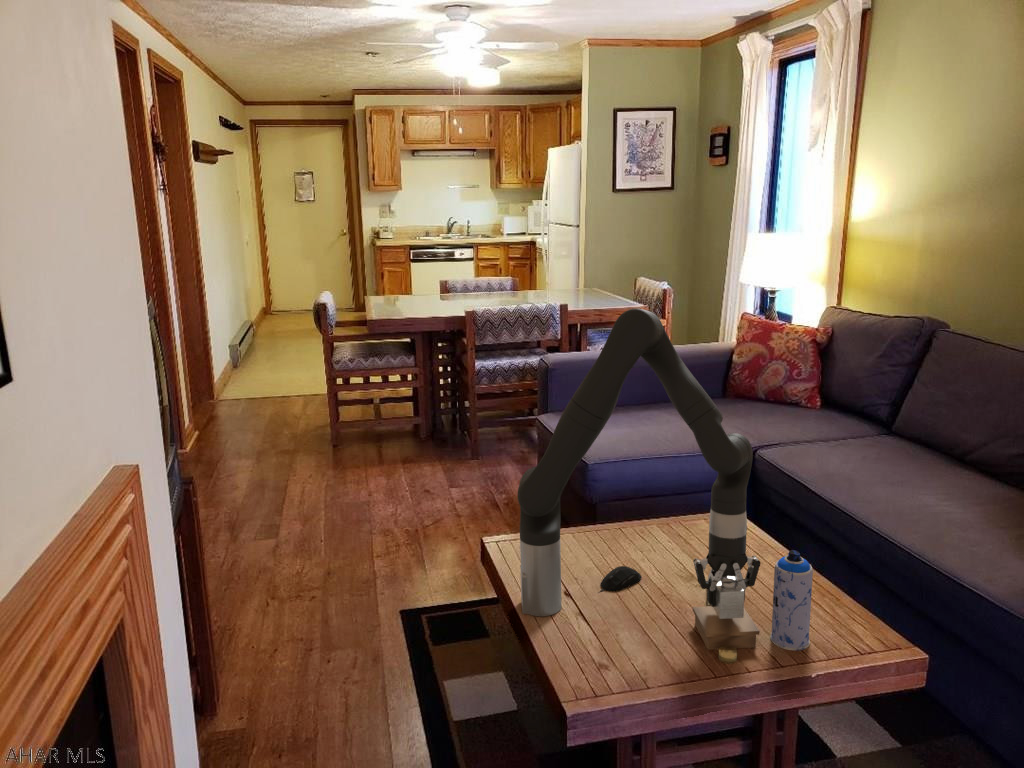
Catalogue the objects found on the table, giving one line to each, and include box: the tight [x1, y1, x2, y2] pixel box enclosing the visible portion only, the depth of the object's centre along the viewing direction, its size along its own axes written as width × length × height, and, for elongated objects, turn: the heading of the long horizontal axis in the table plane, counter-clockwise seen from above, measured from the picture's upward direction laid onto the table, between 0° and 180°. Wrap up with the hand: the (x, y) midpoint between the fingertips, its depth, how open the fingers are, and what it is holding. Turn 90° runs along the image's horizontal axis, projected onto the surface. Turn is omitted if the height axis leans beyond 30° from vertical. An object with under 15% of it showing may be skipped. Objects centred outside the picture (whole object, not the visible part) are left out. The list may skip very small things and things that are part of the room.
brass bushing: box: [717, 645, 738, 665], centre depth 158 cm, size 4×4×2 cm
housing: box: [713, 576, 745, 619], centre depth 164 cm, size 8×5×7 cm, turn 2°
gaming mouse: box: [597, 565, 642, 594], centre depth 190 cm, size 6×15×4 cm, turn 130°
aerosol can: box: [770, 549, 814, 651], centre depth 161 cm, size 8×8×20 cm
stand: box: [692, 605, 761, 651], centre depth 166 cm, size 11×11×4 cm
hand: (725, 604), depth 165 cm, fingers closed on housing, 5 cm apart
